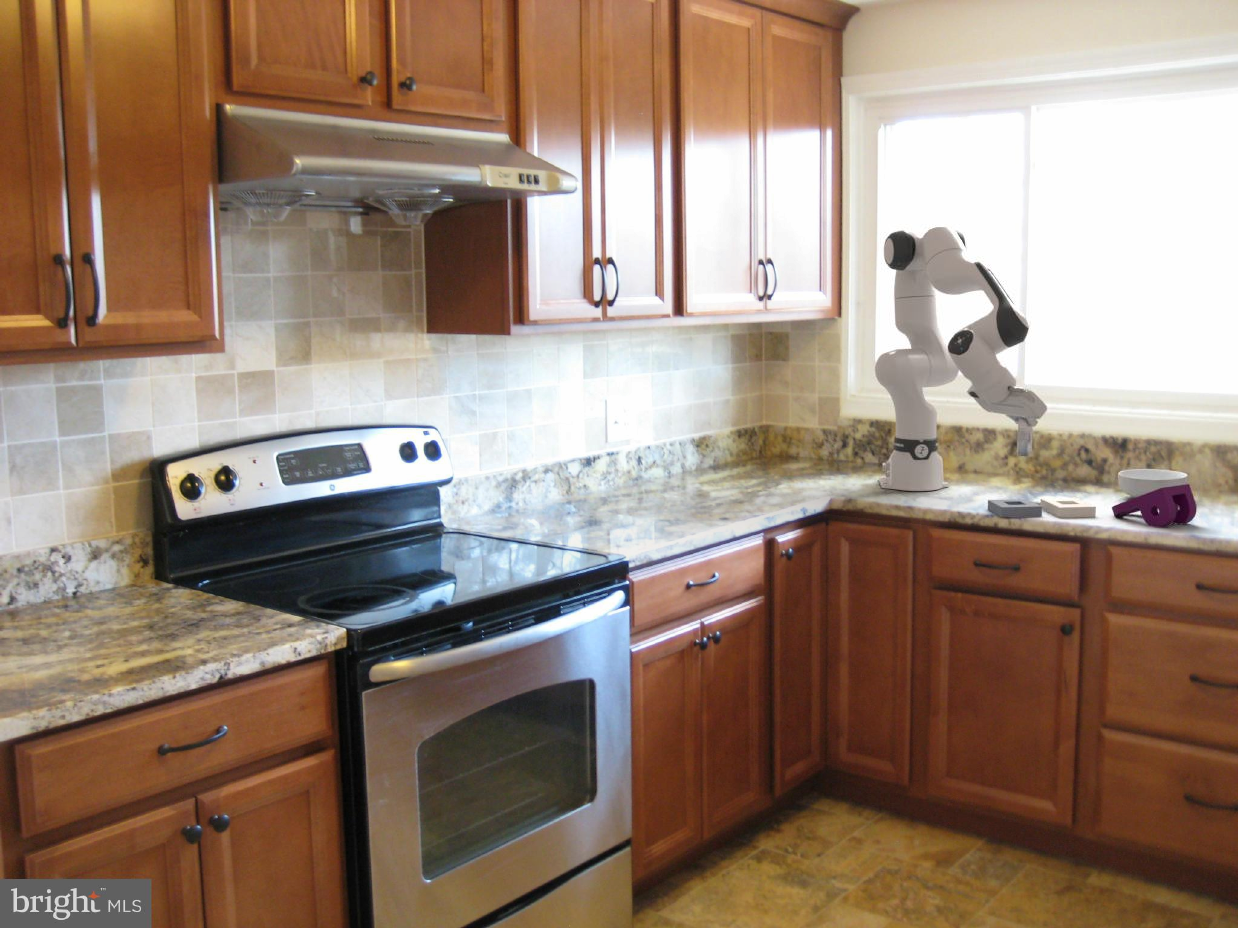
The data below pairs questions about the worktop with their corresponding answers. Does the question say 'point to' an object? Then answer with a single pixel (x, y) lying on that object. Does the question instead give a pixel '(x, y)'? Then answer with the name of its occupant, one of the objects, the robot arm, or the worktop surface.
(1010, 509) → the socket
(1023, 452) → the capped cylinder peg
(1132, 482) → the cereal bowl
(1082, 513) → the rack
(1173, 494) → the mounting bracket
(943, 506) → the worktop surface
